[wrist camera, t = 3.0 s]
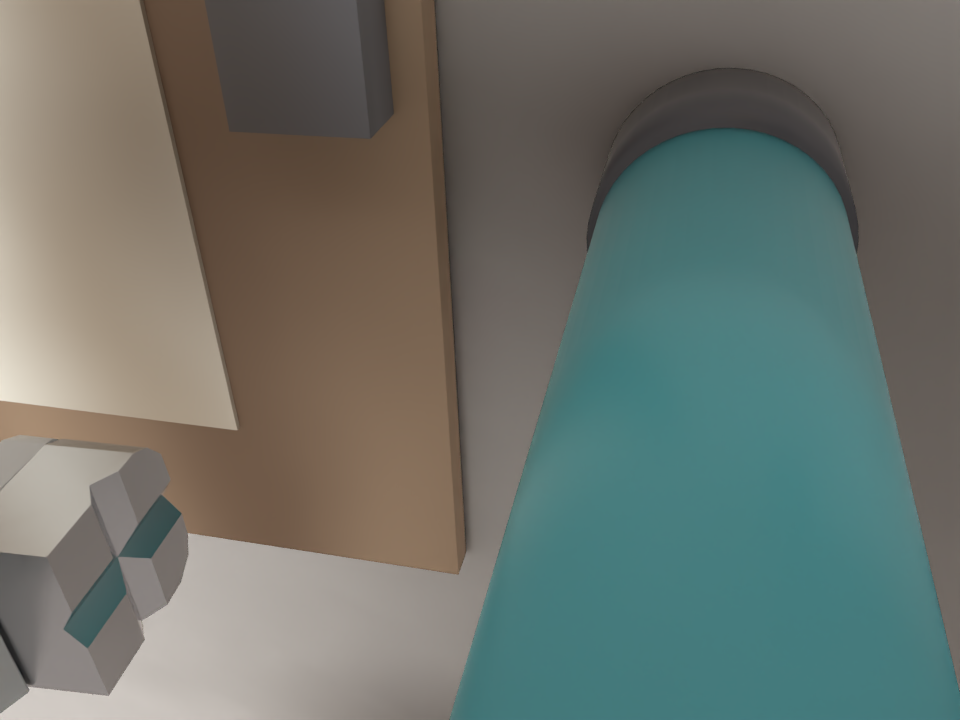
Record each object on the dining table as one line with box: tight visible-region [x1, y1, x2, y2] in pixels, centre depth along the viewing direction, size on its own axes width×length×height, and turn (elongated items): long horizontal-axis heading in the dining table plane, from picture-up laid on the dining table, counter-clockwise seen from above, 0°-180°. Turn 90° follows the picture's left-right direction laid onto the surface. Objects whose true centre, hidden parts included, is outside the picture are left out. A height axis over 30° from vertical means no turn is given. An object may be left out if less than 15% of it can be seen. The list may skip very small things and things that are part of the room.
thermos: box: [449, 68, 960, 720], centre depth 8 cm, size 3×3×12 cm
